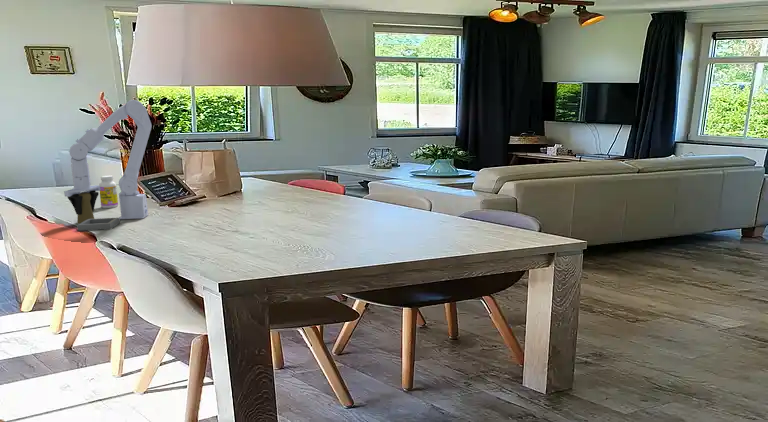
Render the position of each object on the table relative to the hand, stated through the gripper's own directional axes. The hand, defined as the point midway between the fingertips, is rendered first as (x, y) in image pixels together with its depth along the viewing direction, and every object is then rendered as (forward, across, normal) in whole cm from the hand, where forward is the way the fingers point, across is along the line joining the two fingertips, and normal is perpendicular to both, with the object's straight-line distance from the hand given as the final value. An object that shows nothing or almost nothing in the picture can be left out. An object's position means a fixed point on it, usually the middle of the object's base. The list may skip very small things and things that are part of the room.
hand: (85, 212), depth 255 cm
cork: (+4, 0, 0) cm, 4 cm away
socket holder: (+3, +5, +12) cm, 14 cm away
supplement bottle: (+4, -27, -17) cm, 32 cm away
